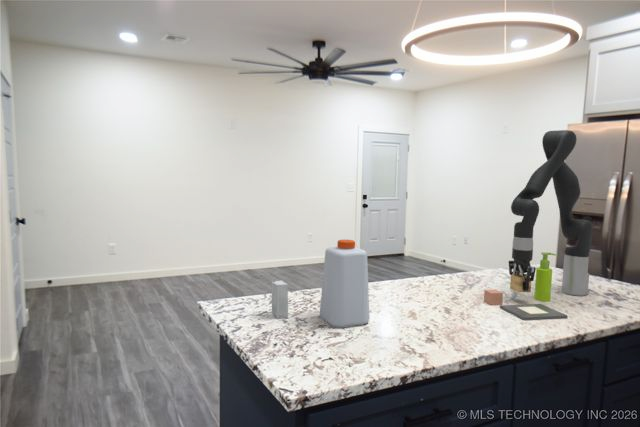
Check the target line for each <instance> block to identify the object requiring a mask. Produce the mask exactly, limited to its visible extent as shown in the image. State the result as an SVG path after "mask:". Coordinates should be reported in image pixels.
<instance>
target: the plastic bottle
mask: <svg viewBox="0 0 640 427" xmlns="http://www.w3.org/2000/svg"><path fill="white" fill-rule="evenodd" d="M324 252H325V253H324V263H323V272H322V273H323V275H322V282H321V283H322V285H321V297H320V306H319V307H320V308H319V316H320V318H321V319H323V320H324V321H325V322H326V323H328V324H329V325H330V326H332V327H334V328H347V327H348V328H349V327H355V326H362V325H365V324H366V325H367V323H369V322H370V297H369V296H370V294H369V271H368V270H369V268H368V267H369V266H368V252H367V251H366V250H364V249H362V248H359V247H356V241H355V240H352V239H339V240H337V246H332V247H331V246H329V247H328V248H326V249H325V251H324Z"/></svg>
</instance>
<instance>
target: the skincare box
mask: <svg viewBox="0 0 640 427" xmlns="http://www.w3.org/2000/svg"><path fill="white" fill-rule="evenodd" d="M270 286H271V314H272V315H273V316H274V317H275V318H276V319H278V320H279V319H280V320H281V319H286V318H288V317H289V291H288V290H289V289H288V288H289V287H288V283H286V282H284V280H281V279H280V280H274V281H271V285H270Z"/></svg>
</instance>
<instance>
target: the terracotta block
mask: <svg viewBox="0 0 640 427" xmlns="http://www.w3.org/2000/svg"><path fill="white" fill-rule="evenodd" d="M483 293H484V294H483V302H484V303H485V304H487V305H489V306H500V305H503V297H504V293H503V292H502V291H499V290H498V289H484V292H483Z"/></svg>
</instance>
